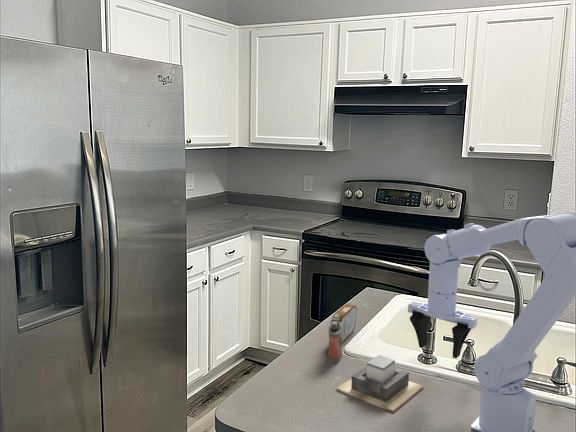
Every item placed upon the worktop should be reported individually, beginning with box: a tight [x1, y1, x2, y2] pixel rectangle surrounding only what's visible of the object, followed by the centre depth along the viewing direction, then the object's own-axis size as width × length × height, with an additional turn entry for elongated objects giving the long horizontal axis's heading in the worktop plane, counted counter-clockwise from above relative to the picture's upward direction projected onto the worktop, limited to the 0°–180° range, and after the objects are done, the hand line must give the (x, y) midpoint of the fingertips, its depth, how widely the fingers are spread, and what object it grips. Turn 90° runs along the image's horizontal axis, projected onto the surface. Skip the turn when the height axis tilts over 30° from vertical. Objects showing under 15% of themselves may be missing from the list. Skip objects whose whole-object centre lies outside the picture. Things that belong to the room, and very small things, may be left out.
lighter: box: [327, 313, 343, 364], centre depth 133 cm, size 8×3×10 cm, turn 168°
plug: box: [366, 354, 396, 384], centre depth 117 cm, size 4×5×6 cm
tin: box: [329, 302, 358, 343], centre depth 144 cm, size 15×3×8 cm, turn 153°
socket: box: [336, 365, 424, 414], centre depth 117 cm, size 14×13×4 cm
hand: (439, 351), depth 115 cm, fingers open, 7 cm apart
